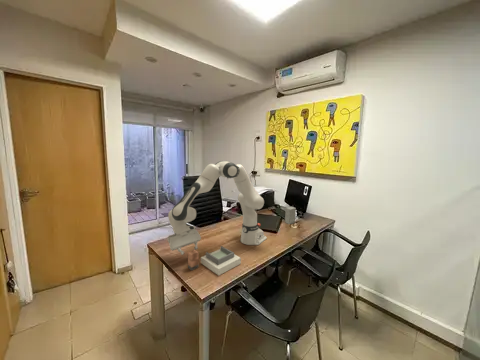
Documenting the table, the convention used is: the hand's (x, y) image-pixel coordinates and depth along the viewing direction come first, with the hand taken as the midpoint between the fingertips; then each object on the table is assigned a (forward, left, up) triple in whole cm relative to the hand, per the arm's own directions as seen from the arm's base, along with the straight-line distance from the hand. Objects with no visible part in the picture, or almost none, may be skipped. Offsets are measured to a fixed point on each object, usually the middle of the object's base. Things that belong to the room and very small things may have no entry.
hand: (190, 251), depth 126 cm
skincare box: (-112, +2, -9) cm, 112 cm away
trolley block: (0, +3, -9) cm, 10 cm away
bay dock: (-15, +11, -9) cm, 21 cm away
